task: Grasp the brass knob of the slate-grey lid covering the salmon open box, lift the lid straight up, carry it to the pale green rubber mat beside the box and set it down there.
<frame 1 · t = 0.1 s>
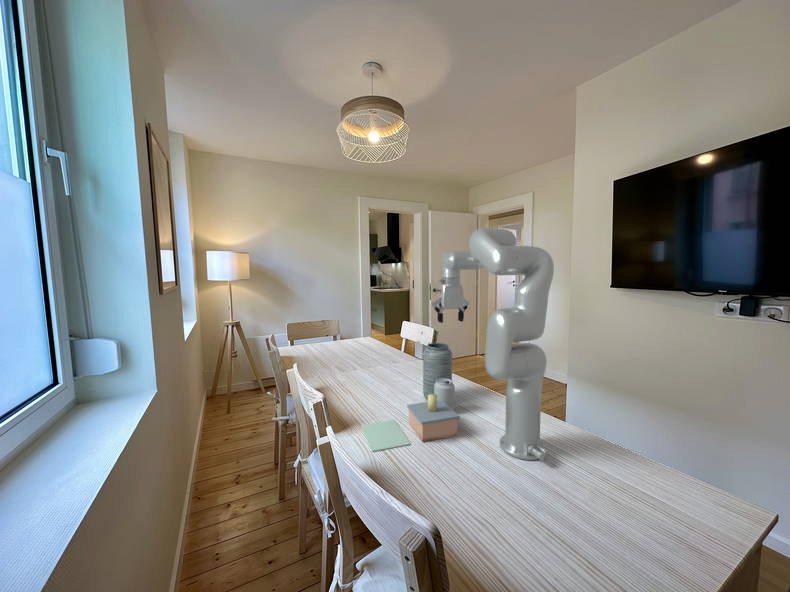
hand: (450, 321, 132), 31 cm above the table, tool pointing down, fingers open, 9 cm apart
salmon open box: (432, 429, 102), on the table
lid: (432, 412, 102), point 6 cm above the table, touching salmon open box
vase: (437, 400, 126), on the table
mat: (384, 434, 99), on the table
can: (444, 412, 116), on the table
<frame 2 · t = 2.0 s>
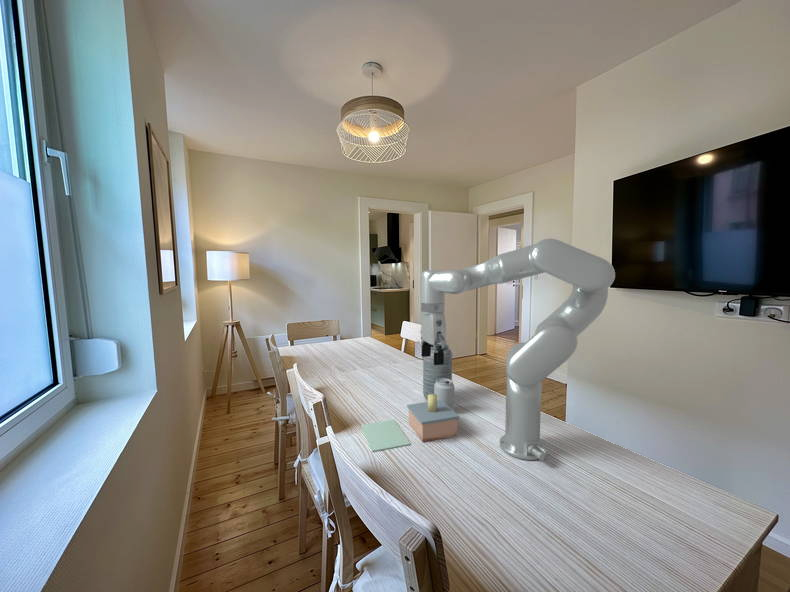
hand: (432, 360, 101), 24 cm above the table, tool pointing down, fingers open, 9 cm apart
nothing on the table moved.
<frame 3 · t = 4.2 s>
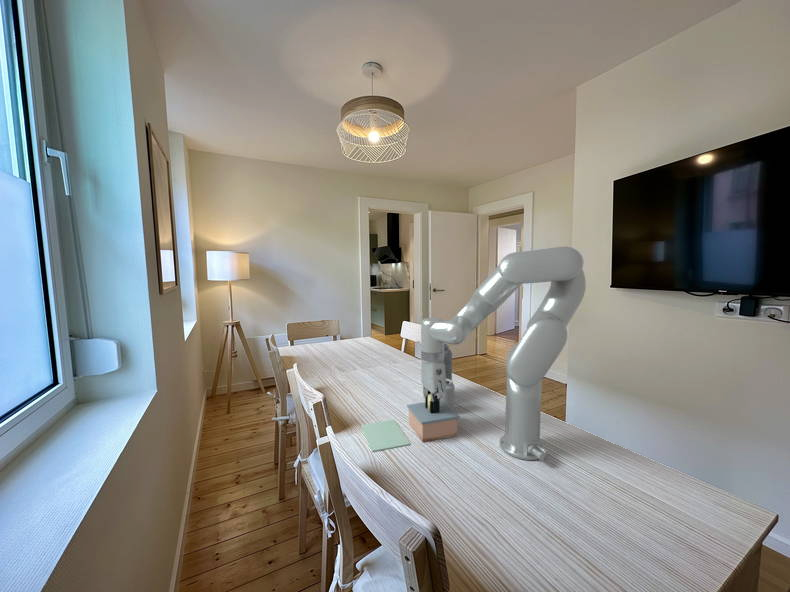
hand: (432, 409, 102), 7 cm above the table, tool pointing down, fingers closed on lid, 3 cm apart
lid: (432, 412, 102), point 6 cm above the table, touching salmon open box, gripper
everything else where it was.
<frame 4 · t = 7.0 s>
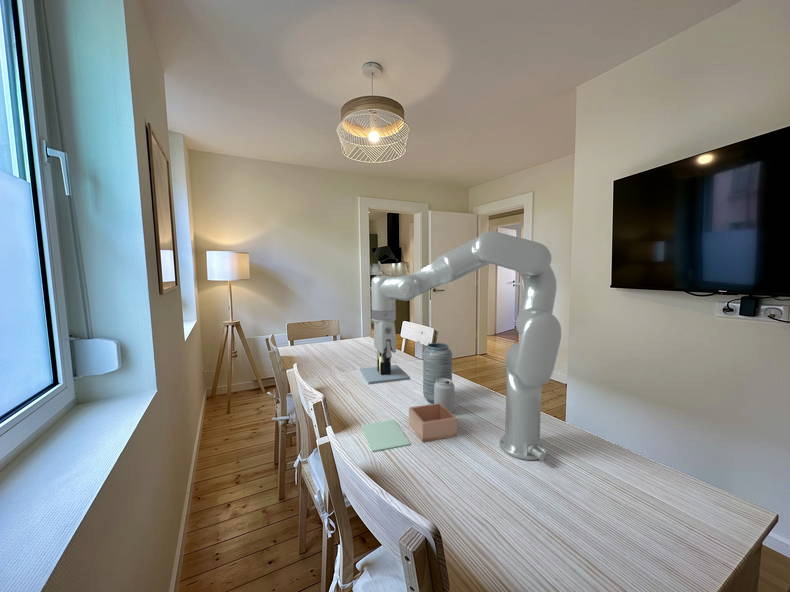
hand: (383, 372, 98), 21 cm above the table, tool pointing down, fingers closed on lid, 3 cm apart
lid: (383, 375, 98), point 20 cm above the table, touching gripper
everything else where it was.
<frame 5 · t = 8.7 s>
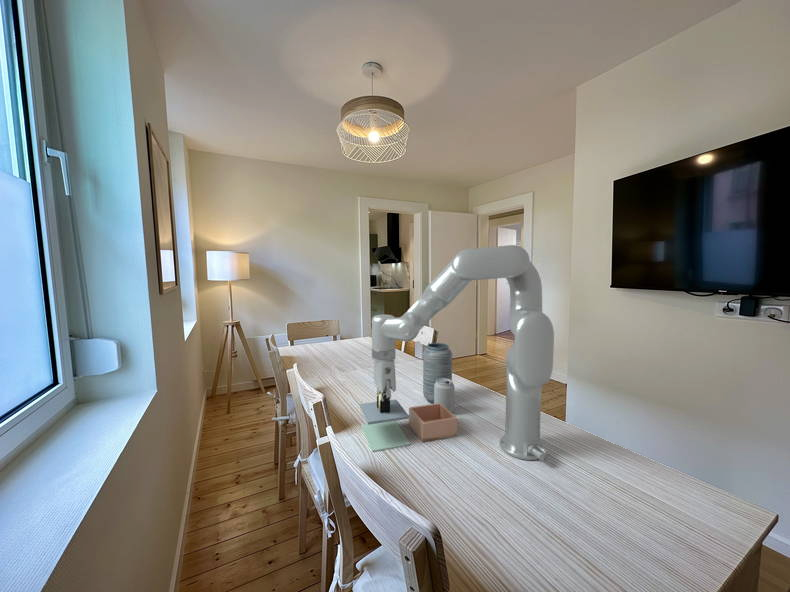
hand: (383, 409, 99), 9 cm above the table, tool pointing down, fingers closed on lid, 3 cm apart
lid: (383, 412, 99), point 8 cm above the table, touching gripper
everything else where it was.
when the fingers open (3 cm above the table, at t = 9.9 s): lid drops 2 cm, resting on mat.
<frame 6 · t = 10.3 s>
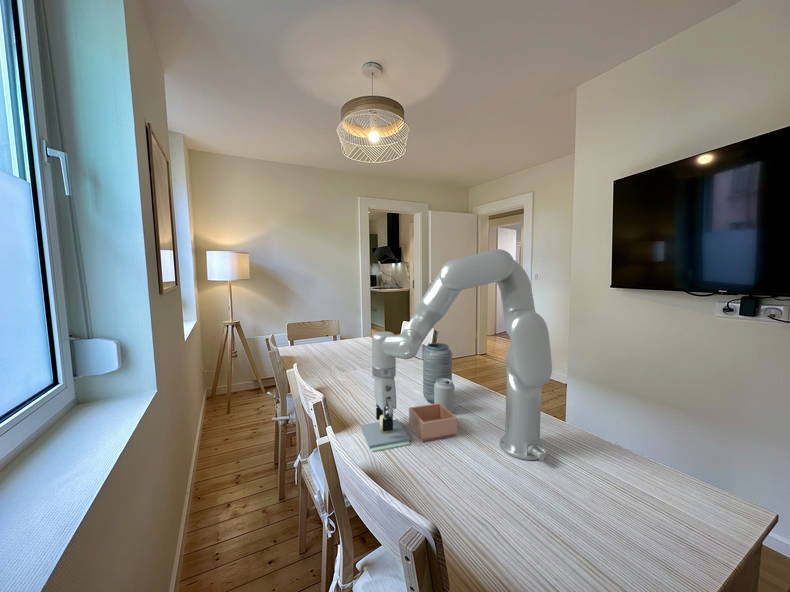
hand: (384, 424, 99), 4 cm above the table, tool pointing down, fingers open, 7 cm apart
lid: (384, 433, 99), resting on mat
everything else where it was.
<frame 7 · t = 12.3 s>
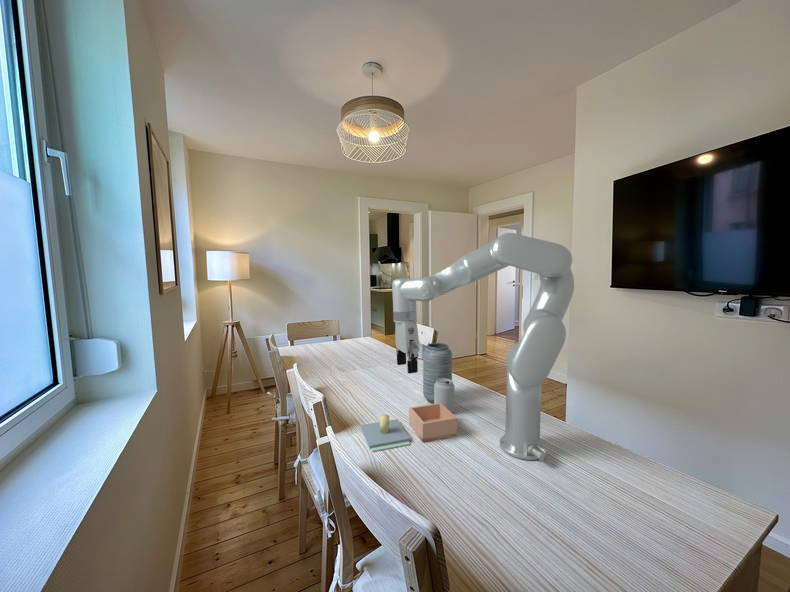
hand: (407, 368, 100), 21 cm above the table, tool pointing down, fingers open, 9 cm apart
nothing on the table moved.
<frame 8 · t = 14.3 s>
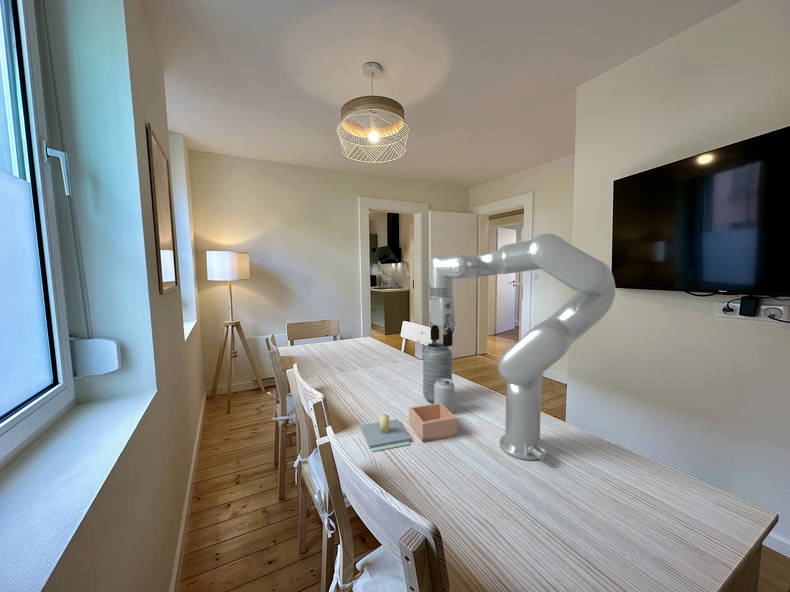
hand: (441, 342, 105), 28 cm above the table, tool pointing down, fingers open, 9 cm apart
nothing on the table moved.
at the end: lid inside the target area on the mat (0.1 cm from its centre), point 0.4 cm above the mat's base; lid touching mat; the gripper is holding nothing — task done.
